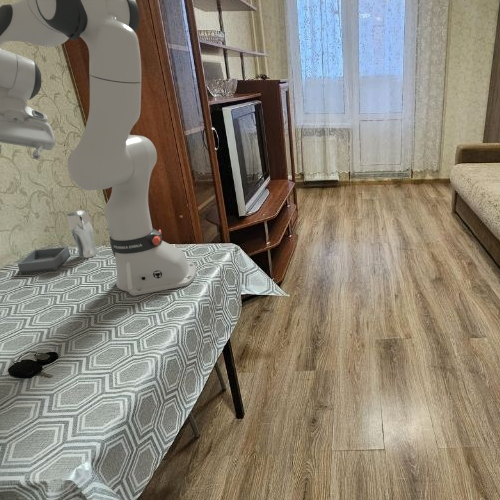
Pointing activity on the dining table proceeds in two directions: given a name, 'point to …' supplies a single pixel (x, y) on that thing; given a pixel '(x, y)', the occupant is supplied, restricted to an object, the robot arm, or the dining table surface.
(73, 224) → the silver tall rounded piece
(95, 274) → the dining table surface
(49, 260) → the box
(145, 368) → the dining table surface
